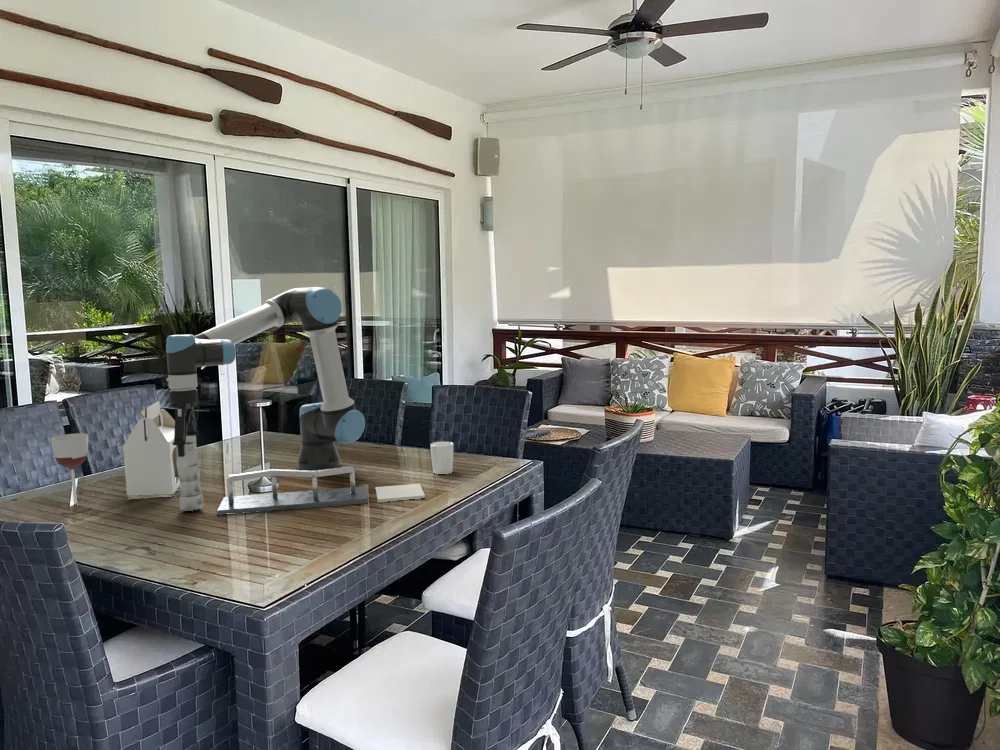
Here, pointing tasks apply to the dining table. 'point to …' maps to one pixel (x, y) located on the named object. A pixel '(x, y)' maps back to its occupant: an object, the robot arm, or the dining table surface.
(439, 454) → the white cup
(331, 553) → the dining table surface
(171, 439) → the gable box
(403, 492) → the pad
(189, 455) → the plastic bottle
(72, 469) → the wineglass
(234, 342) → the robot arm
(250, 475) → the grey platform with railing
